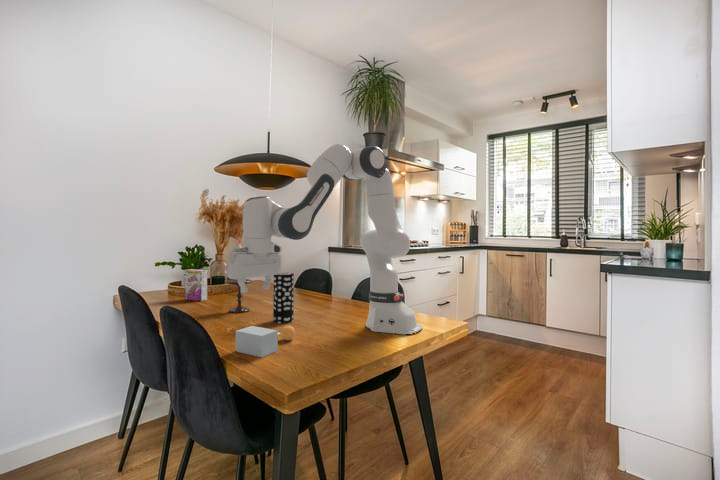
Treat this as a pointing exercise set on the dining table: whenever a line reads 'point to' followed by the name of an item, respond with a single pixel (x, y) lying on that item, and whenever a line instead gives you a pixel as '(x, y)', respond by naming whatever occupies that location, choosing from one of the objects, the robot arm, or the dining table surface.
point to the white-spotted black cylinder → (283, 298)
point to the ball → (287, 332)
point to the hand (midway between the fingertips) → (255, 291)
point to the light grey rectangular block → (257, 341)
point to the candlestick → (239, 294)
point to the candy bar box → (195, 285)
